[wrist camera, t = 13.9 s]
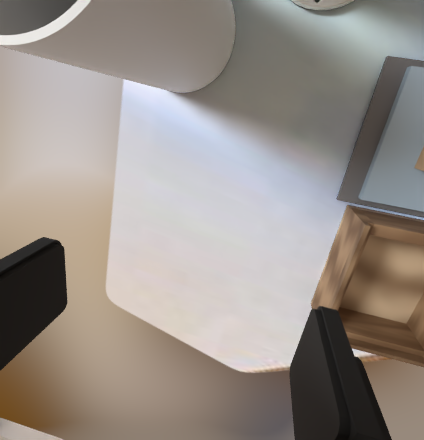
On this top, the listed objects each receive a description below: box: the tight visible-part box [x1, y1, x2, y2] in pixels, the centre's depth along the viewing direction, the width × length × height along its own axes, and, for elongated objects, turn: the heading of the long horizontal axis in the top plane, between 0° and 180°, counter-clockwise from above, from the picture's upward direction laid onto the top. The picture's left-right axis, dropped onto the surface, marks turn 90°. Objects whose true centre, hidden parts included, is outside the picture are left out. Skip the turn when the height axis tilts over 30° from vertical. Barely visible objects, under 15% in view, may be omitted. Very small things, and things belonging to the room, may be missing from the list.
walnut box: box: [311, 205, 424, 367], centre depth 34 cm, size 16×14×7 cm
